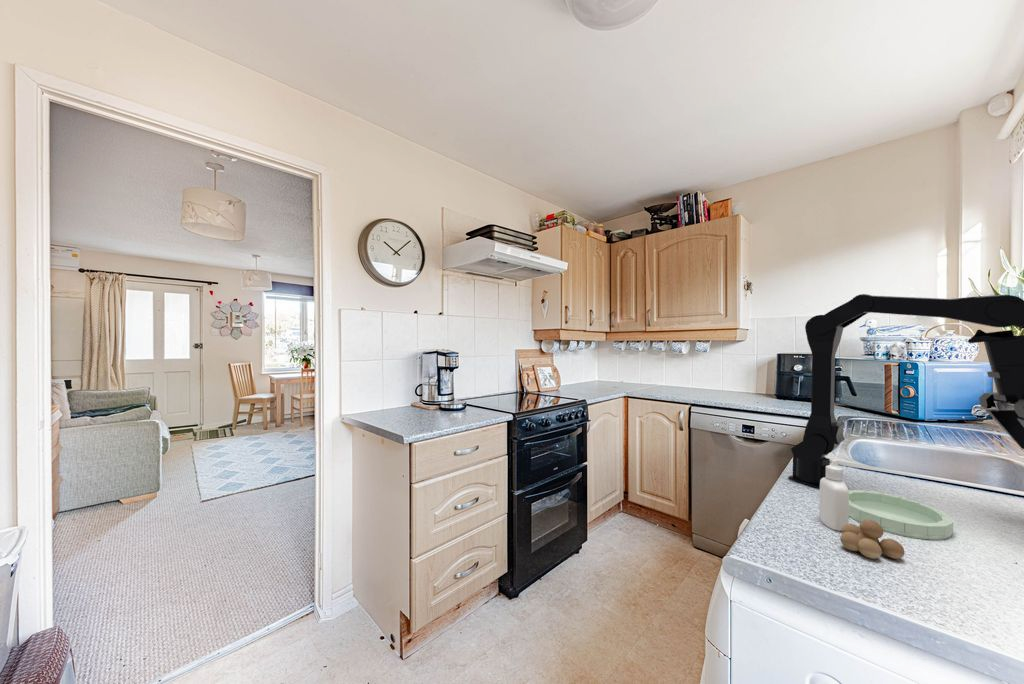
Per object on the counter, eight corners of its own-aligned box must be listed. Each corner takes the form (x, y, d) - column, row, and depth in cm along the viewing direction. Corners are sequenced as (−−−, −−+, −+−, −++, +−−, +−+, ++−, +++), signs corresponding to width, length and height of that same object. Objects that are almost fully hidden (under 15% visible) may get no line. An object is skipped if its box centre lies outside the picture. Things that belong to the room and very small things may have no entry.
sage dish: (822, 508, 75) (823, 497, 75) (863, 496, 81) (864, 485, 81) (927, 547, 62) (928, 533, 62) (968, 529, 68) (968, 516, 68)
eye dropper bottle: (850, 523, 70) (851, 459, 69) (847, 534, 66) (848, 466, 65) (820, 515, 73) (821, 454, 73) (815, 525, 69) (816, 460, 69)
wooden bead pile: (825, 542, 63) (826, 513, 63) (847, 535, 66) (847, 507, 65) (887, 569, 56) (888, 537, 56) (908, 560, 58) (909, 528, 58)
